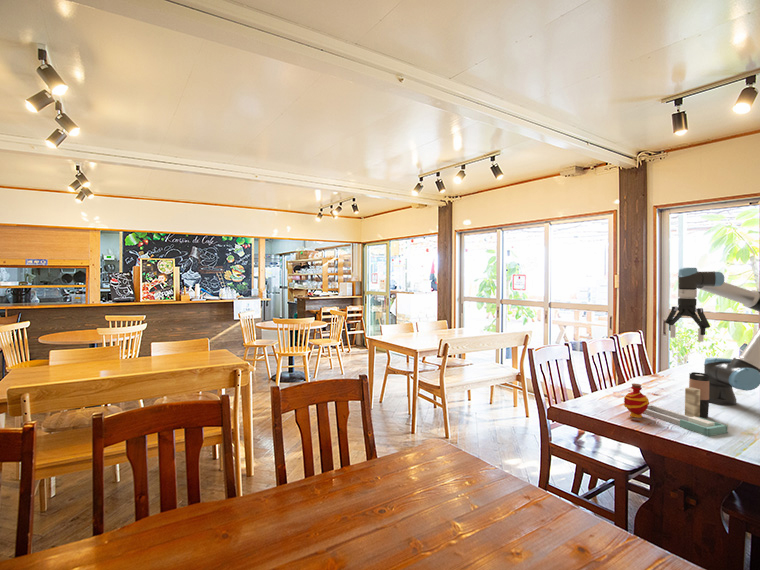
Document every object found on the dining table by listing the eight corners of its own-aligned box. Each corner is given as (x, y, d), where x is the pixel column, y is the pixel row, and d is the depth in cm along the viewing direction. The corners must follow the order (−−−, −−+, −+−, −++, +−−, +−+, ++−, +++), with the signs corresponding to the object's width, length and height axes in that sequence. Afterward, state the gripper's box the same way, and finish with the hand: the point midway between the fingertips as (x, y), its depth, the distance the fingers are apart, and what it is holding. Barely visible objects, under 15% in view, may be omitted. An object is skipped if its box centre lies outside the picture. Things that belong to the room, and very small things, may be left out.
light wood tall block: (690, 416, 191) (691, 387, 190) (699, 419, 187) (700, 389, 187) (684, 417, 189) (685, 387, 189) (693, 420, 186) (694, 390, 185)
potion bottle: (641, 421, 184) (641, 388, 184) (618, 414, 193) (619, 383, 193) (654, 417, 189) (654, 385, 189) (631, 410, 198) (632, 380, 198)
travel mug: (712, 418, 187) (713, 376, 187) (693, 417, 189) (694, 375, 189) (702, 413, 195) (703, 372, 195) (685, 412, 197) (685, 371, 196)
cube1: (694, 425, 179) (694, 416, 179) (704, 428, 176) (704, 419, 176) (688, 426, 178) (688, 417, 178) (697, 429, 174) (698, 420, 174)
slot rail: (650, 408, 202) (650, 404, 202) (695, 423, 182) (696, 418, 182) (635, 410, 199) (636, 406, 199) (680, 425, 179) (680, 421, 179)
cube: (704, 428, 176) (704, 419, 176) (714, 431, 172) (714, 422, 172) (698, 429, 174) (698, 420, 174) (708, 432, 171) (708, 423, 171)
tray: (698, 423, 182) (698, 416, 182) (727, 432, 171) (727, 425, 171) (679, 426, 178) (679, 419, 178) (708, 436, 167) (708, 428, 167)
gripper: (657, 296, 214) (657, 336, 215) (709, 299, 191) (708, 343, 191) (667, 296, 217) (667, 335, 217) (719, 299, 193) (718, 342, 193)
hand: (686, 339), depth 204 cm, fingers open, 13 cm apart
